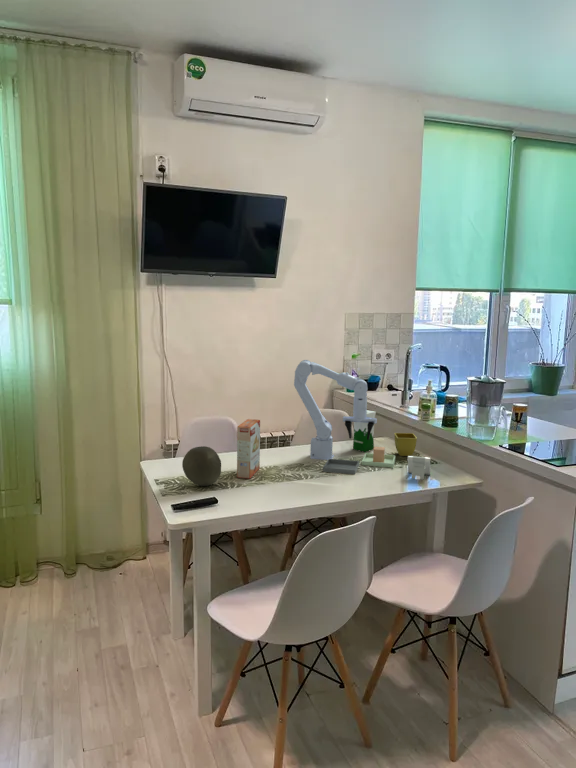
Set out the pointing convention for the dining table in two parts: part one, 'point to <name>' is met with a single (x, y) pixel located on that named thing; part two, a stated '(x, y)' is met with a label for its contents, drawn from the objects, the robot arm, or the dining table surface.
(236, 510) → the dining table surface
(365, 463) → the green tray
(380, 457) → the terracotta block
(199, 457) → the dark olive ball
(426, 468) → the portable electronic device stand
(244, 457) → the cracker box
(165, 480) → the dining table surface
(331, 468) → the charcoal tray
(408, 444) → the flower pot
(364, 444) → the milk carton
